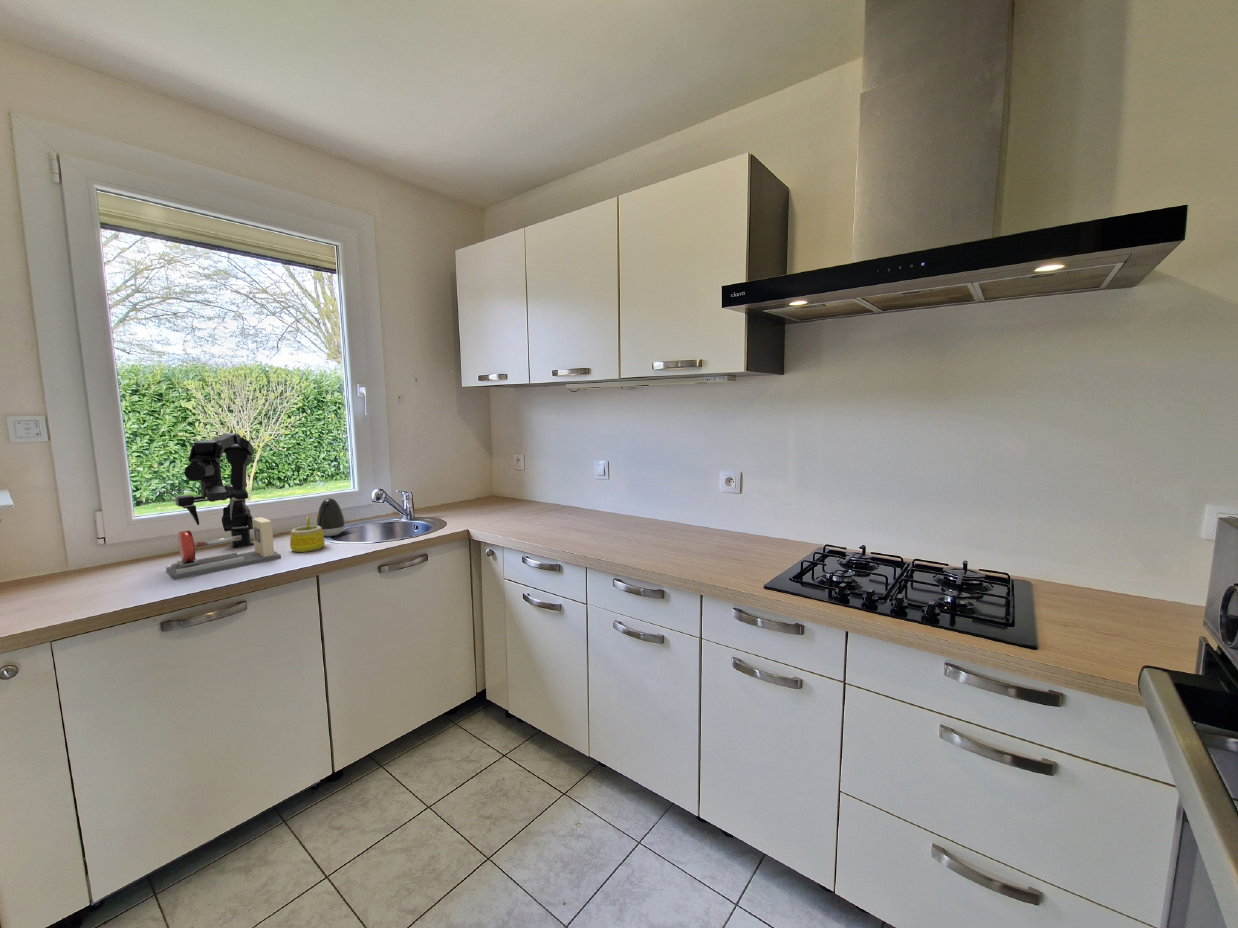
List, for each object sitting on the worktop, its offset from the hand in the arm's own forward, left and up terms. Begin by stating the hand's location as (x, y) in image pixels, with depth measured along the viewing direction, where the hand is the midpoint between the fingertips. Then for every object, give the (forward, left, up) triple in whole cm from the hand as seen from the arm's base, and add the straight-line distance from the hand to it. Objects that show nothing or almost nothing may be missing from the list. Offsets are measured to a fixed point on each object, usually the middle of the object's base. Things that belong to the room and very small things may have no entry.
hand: (215, 522), depth 171 cm
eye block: (+9, +1, -13) cm, 16 cm away
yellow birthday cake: (+10, +25, -13) cm, 30 cm away
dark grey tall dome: (-6, +38, -13) cm, 41 cm away
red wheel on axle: (+9, -3, -11) cm, 15 cm away
